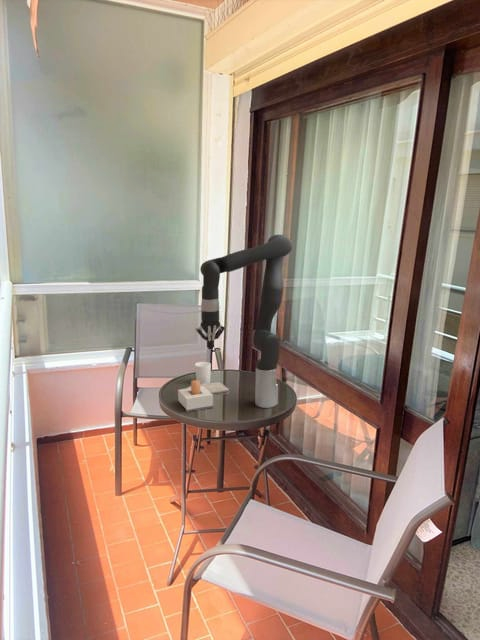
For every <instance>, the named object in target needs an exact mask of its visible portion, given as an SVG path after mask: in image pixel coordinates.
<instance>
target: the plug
mask: <svg viewBox="0 0 480 640" xmlns="http://www.w3.org/2000/svg"><path fill="white" fill-rule="evenodd" d="M190 386H191V395H196V394H200V381H199V380H196V379H194V380H191V381H190Z"/></svg>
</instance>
